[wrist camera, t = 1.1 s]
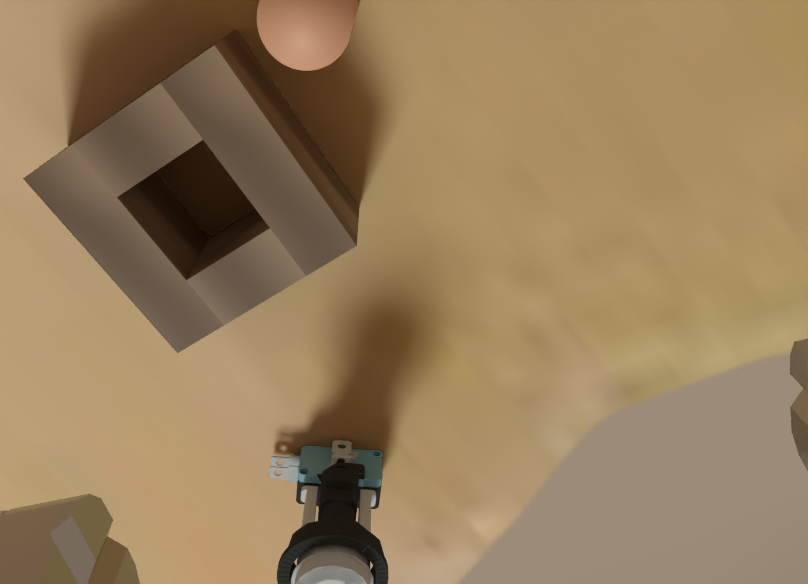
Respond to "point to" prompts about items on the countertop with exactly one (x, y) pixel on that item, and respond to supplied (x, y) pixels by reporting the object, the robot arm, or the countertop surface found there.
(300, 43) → the dowel
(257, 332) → the countertop surface
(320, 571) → the push button
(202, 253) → the socket block
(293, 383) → the countertop surface
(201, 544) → the countertop surface
